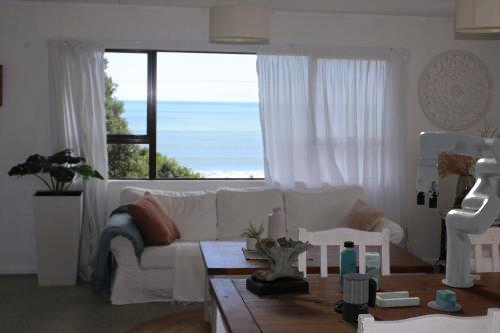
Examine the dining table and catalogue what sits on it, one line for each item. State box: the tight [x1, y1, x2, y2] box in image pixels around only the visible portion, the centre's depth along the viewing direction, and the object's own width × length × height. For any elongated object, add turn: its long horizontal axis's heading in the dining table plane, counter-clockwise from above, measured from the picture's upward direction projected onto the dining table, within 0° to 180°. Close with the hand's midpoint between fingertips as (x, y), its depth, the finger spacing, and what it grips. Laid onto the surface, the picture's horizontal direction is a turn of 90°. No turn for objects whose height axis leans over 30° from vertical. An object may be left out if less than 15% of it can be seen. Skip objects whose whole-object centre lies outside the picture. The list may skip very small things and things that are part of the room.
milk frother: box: [333, 272, 378, 323], centre depth 227 cm, size 14×16×15 cm
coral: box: [245, 236, 314, 297], centre depth 257 cm, size 25×20×22 cm
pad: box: [427, 300, 462, 313], centre depth 239 cm, size 12×12×1 cm
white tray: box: [375, 291, 421, 308], centre depth 244 cm, size 16×10×2 cm, turn 104°
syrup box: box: [363, 251, 381, 291], centre depth 263 cm, size 6×6×14 cm
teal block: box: [435, 289, 457, 308], centre depth 239 cm, size 5×5×5 cm
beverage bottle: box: [338, 240, 358, 290], centre depth 258 cm, size 6×7×20 cm
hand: (426, 206), depth 258 cm, fingers open, 9 cm apart
